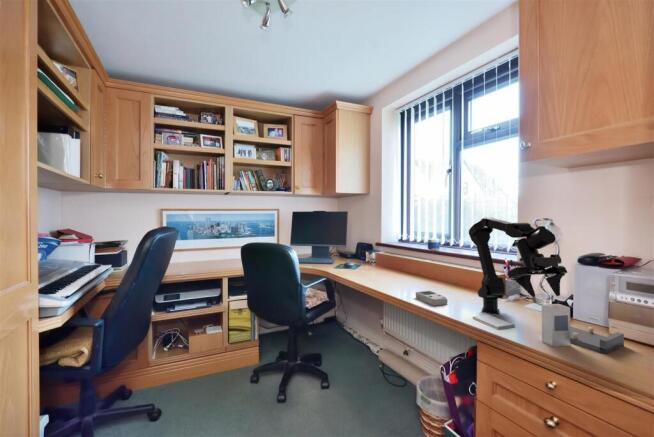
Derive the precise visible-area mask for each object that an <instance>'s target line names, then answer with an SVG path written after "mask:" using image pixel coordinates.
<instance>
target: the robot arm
mask: <svg viewBox="0 0 654 437" xmlns="http://www.w3.org/2000/svg"><path fill="white" fill-rule="evenodd" d="M494 229H495V230H498V231H501V232H503V233H505V235H506V236H509V238H510V237H511V238H513V239H514V240H513V243H512V245H511V246H512V247H513V248H514V247H516V249H517V251H518V253H519V255H520V258H519V259H518V260H519V262H522V263H523V265H524V266H515V267H513V268H512V269H509V270H508V271H507V277H508V279H510V280H511V279H512V281H515V282H516V283H517V284H518V285H520V286H521V287H522V288H523V289H524V290H525V291H526V292H527V294H529V295H530V296H531V297H532V298H535V297H536V293H535V290H534V289H535V288H534V287H533V284H532V281H531V277H532V276H535V275H537V276H539V275H543V276H545V277H546V278H545V280H546V282H547V284H548V285H549V287H550V288H551V290H552V292H553V293H554V295H555V296H557V297H560V296H561V280H562V278H563V277H564V276H565V275H566V274H568V273H569V272H568V270H567V269H566V267H565V266H563V265H559V264H562V258H561V256H560V254H559V253H558V254H556V253H555V254H554V253H553V254H550V255H549V257H548V256H546V257H545V255H544V254H543V253H539V250H542V249H543V248H546V247H547V246H549V245H551V244H554V243H555V241H556V235H555V233H553V232H552V231H551V230H550V229H547V228H546V226H545V225H540V226H537V227H536V228H534V227H532V226H531V224H530V223H528V222H512V221H510V222H509V221H507V220H504V219H503V220H501V219H498V218H494V217H483V218H481V219H480V220H479V221H478V222H475V223H474V224H473V225H472V226H471V227H470V228H469V229H468V235H469V238H470V240H471V241H472V243H473V244H474V245H475V246H476V250H477V254H478V259H479V262H480V266H481V270H482V271H481V272H482V274H483V277H482V279H481V287H480V288H479V289H478V291H477V296H478V297H480V298H482V299H483V300H482V303H483V304H482V308H481V312H484V313H488V314H496V315H499V313H500V309H499V299H503V298H504V294H505V291H506V285H505V283H504V278H503V277H499V276H498V275H497V273H496V269H495V264H494V262H493V257H492V254H491V249H490V246H489V242H490V240H491V233H493V231H494ZM515 238H516V239H515ZM517 238H518V239H517Z"/></svg>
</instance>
